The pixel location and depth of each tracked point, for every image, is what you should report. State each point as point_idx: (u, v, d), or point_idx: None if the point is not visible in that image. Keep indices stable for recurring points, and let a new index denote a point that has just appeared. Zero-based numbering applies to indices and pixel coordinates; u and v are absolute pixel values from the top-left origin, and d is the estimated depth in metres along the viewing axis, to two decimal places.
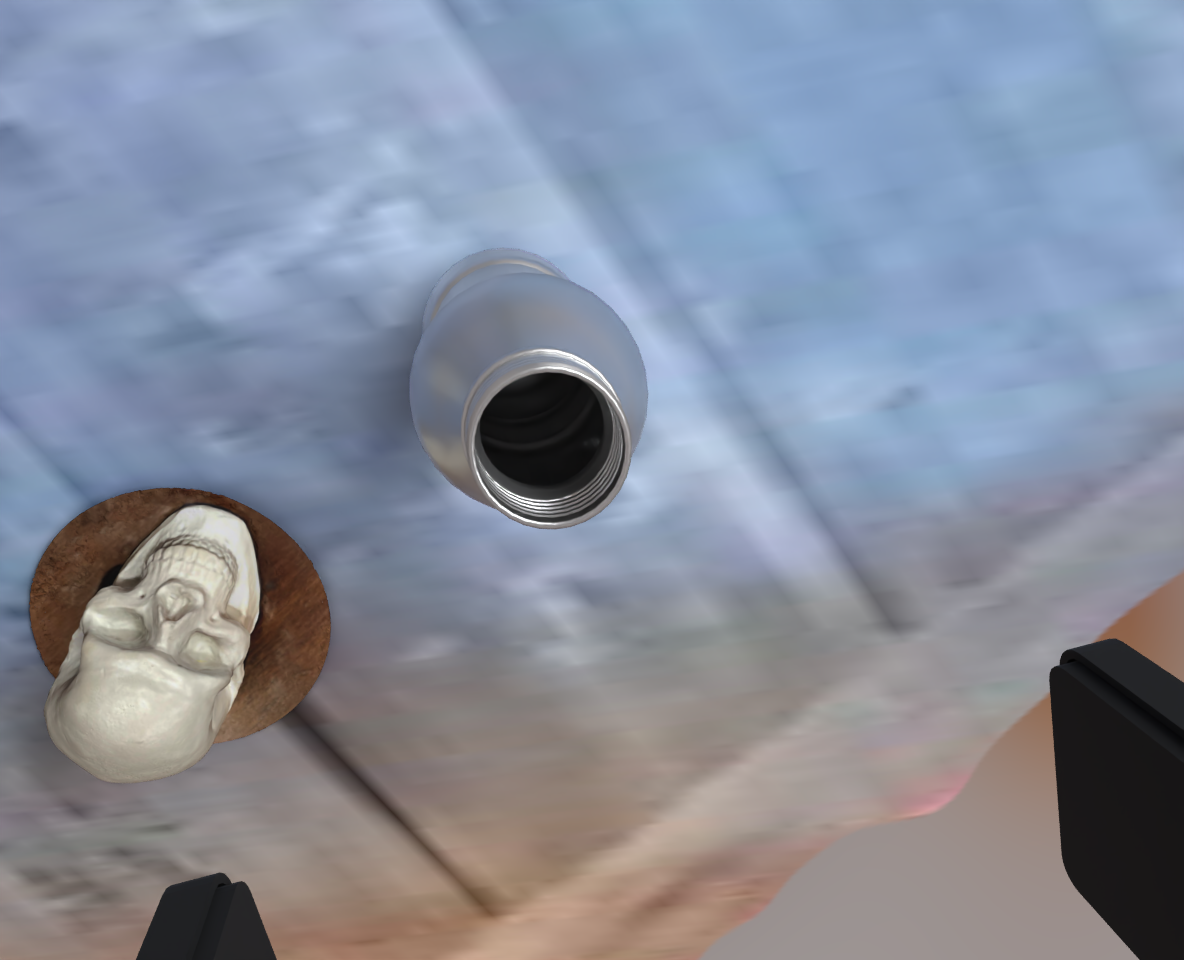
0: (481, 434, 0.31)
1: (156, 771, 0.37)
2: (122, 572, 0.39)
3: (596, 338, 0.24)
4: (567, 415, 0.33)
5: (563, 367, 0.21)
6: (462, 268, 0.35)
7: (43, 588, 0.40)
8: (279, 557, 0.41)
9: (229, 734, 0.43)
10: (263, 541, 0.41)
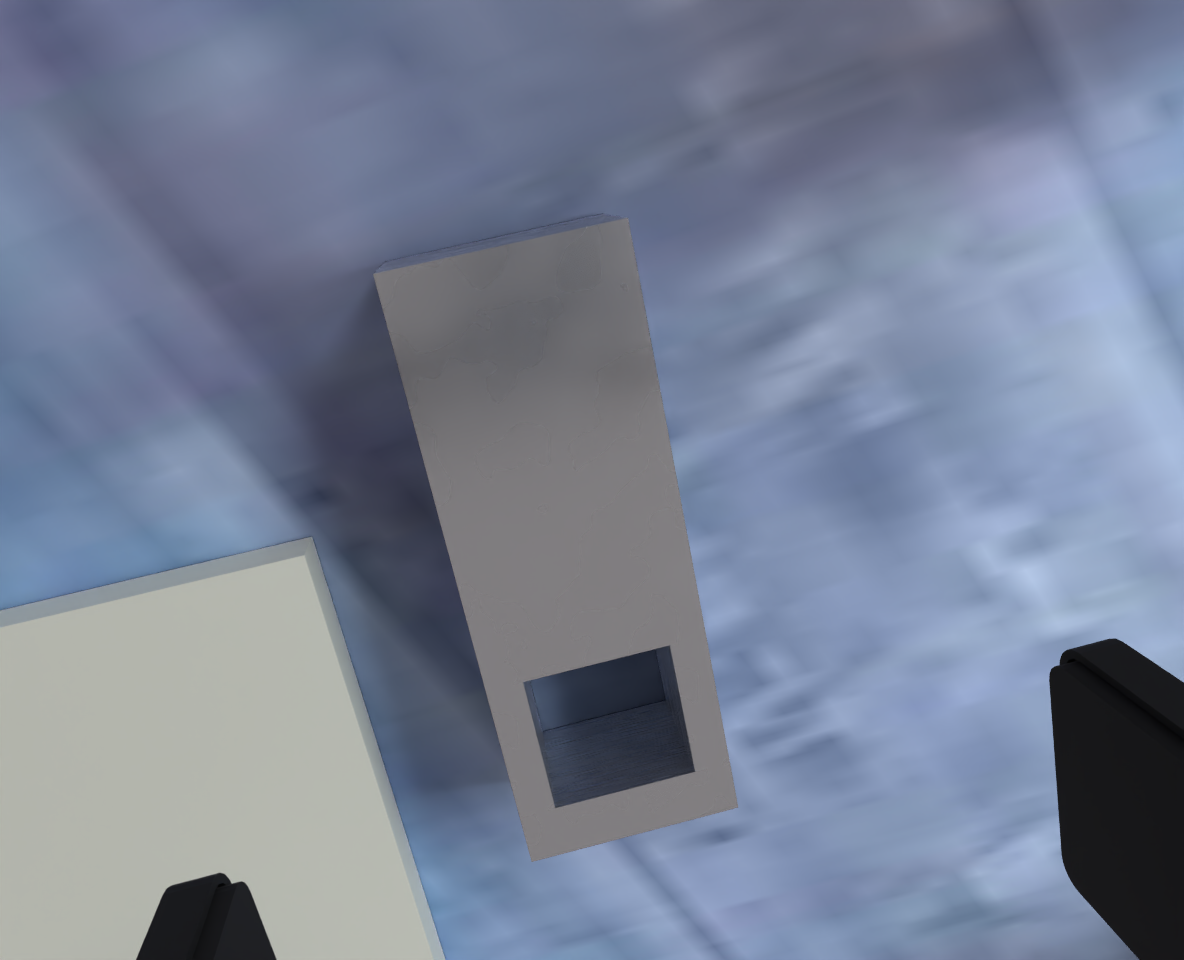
0: None
1: None
2: None
3: None
4: None
5: None
6: None
7: None
8: None
9: None
10: None
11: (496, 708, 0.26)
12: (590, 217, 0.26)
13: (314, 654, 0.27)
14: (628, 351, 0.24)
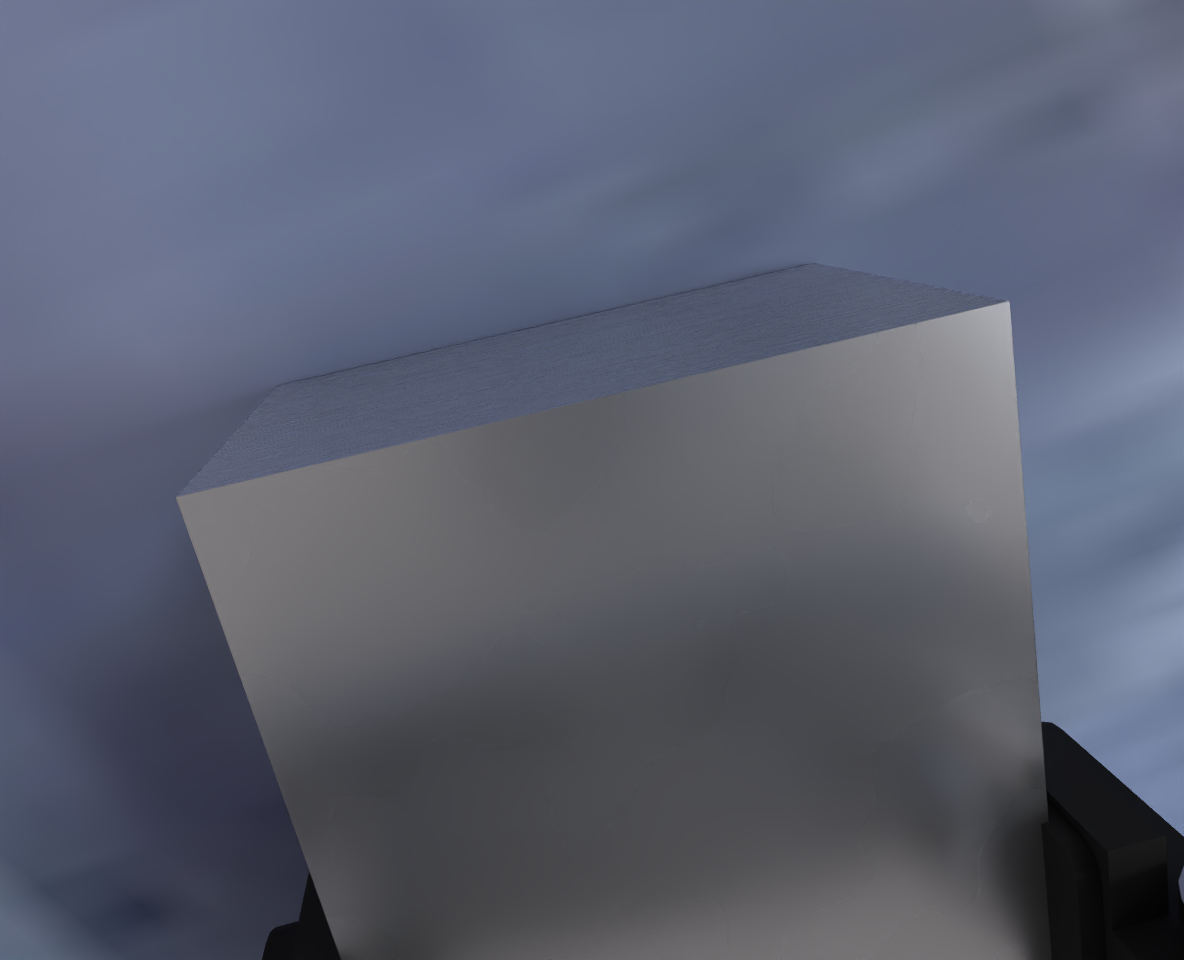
0: None
1: None
2: None
3: None
4: None
5: None
6: None
7: None
8: None
9: None
10: None
11: None
12: (793, 275, 0.10)
13: None
14: (968, 688, 0.08)
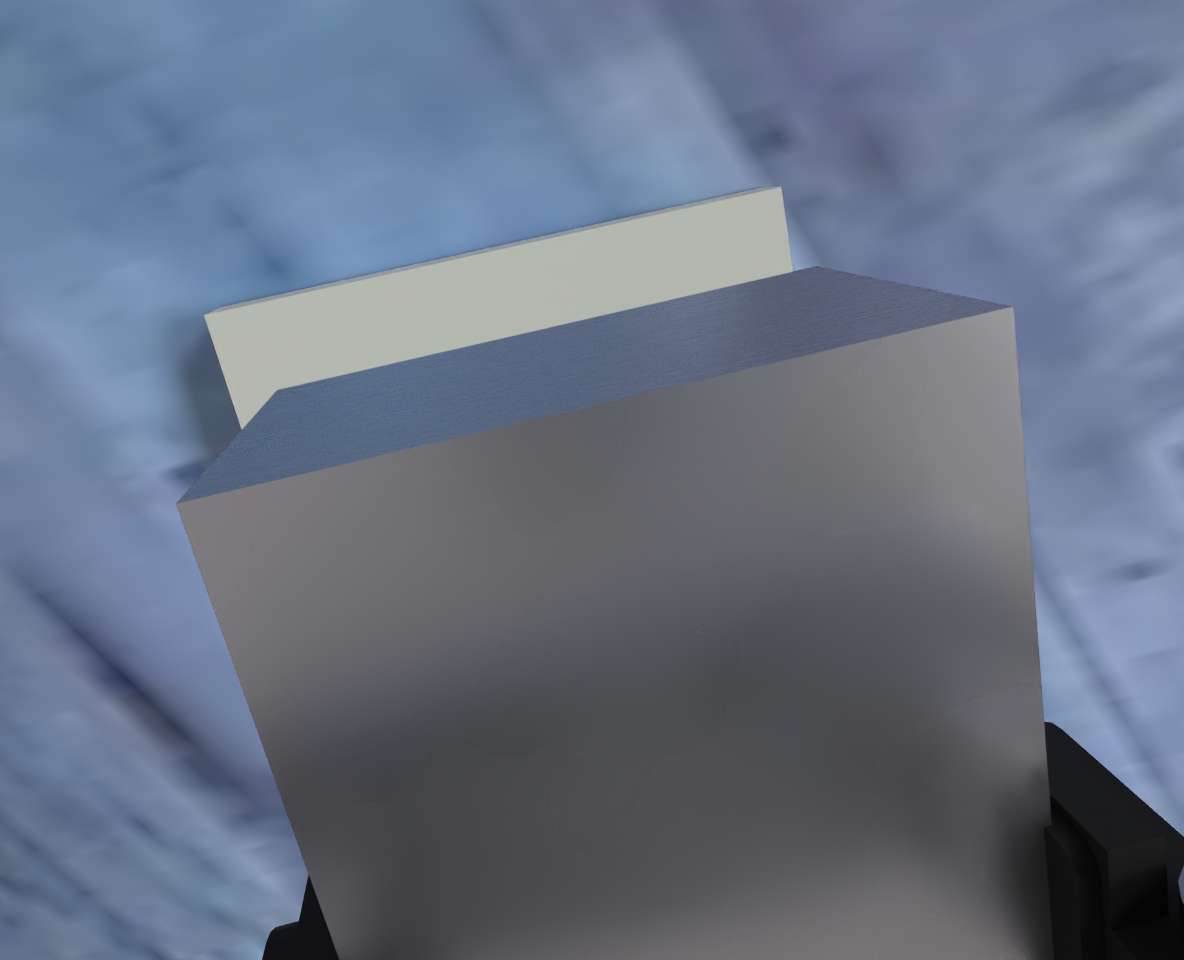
0: None
1: None
2: None
3: None
4: None
5: None
6: None
7: None
8: None
9: None
10: None
11: None
12: (795, 278, 0.10)
13: None
14: (971, 695, 0.08)
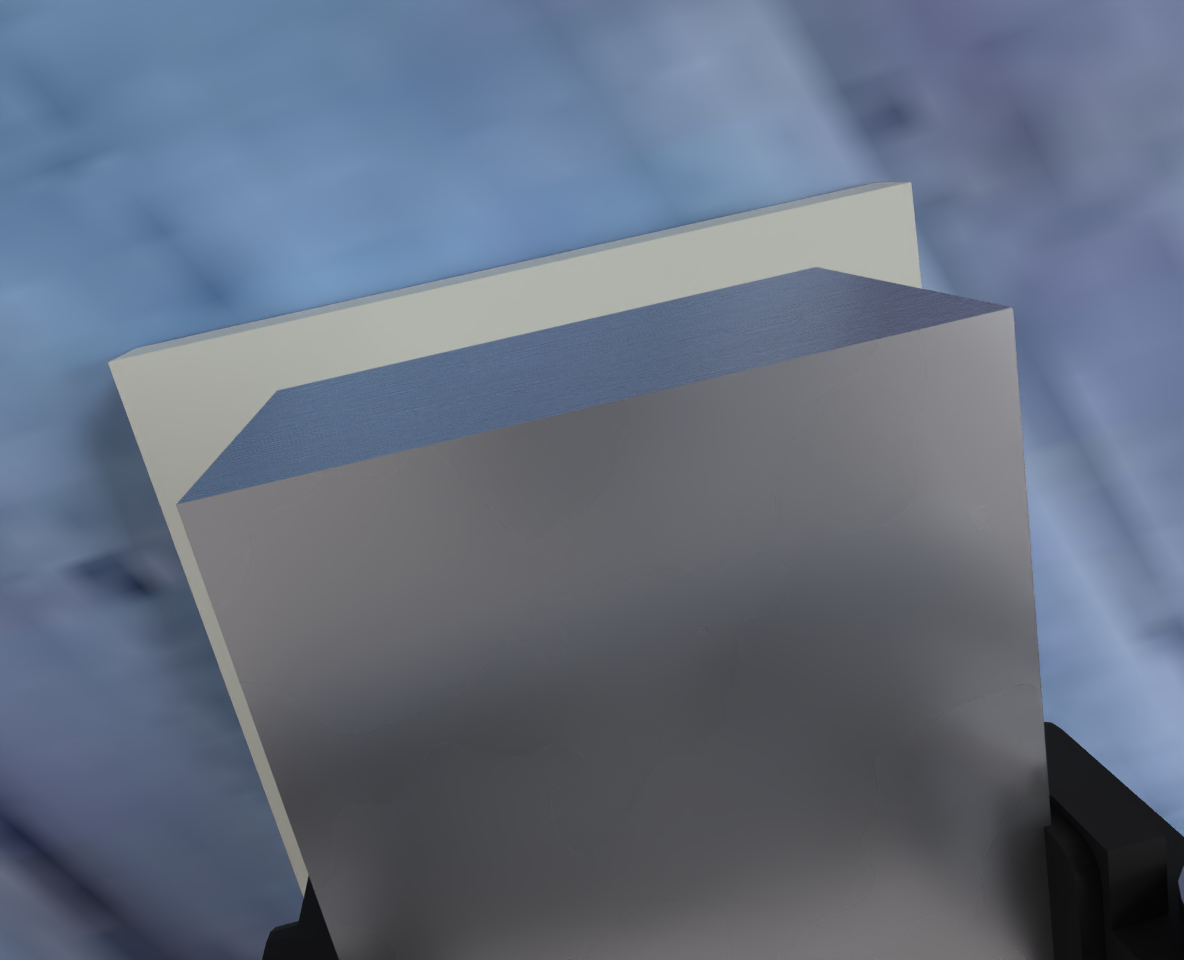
0: None
1: None
2: None
3: None
4: None
5: None
6: None
7: None
8: None
9: None
10: None
11: None
12: (795, 279, 0.10)
13: None
14: (972, 695, 0.08)
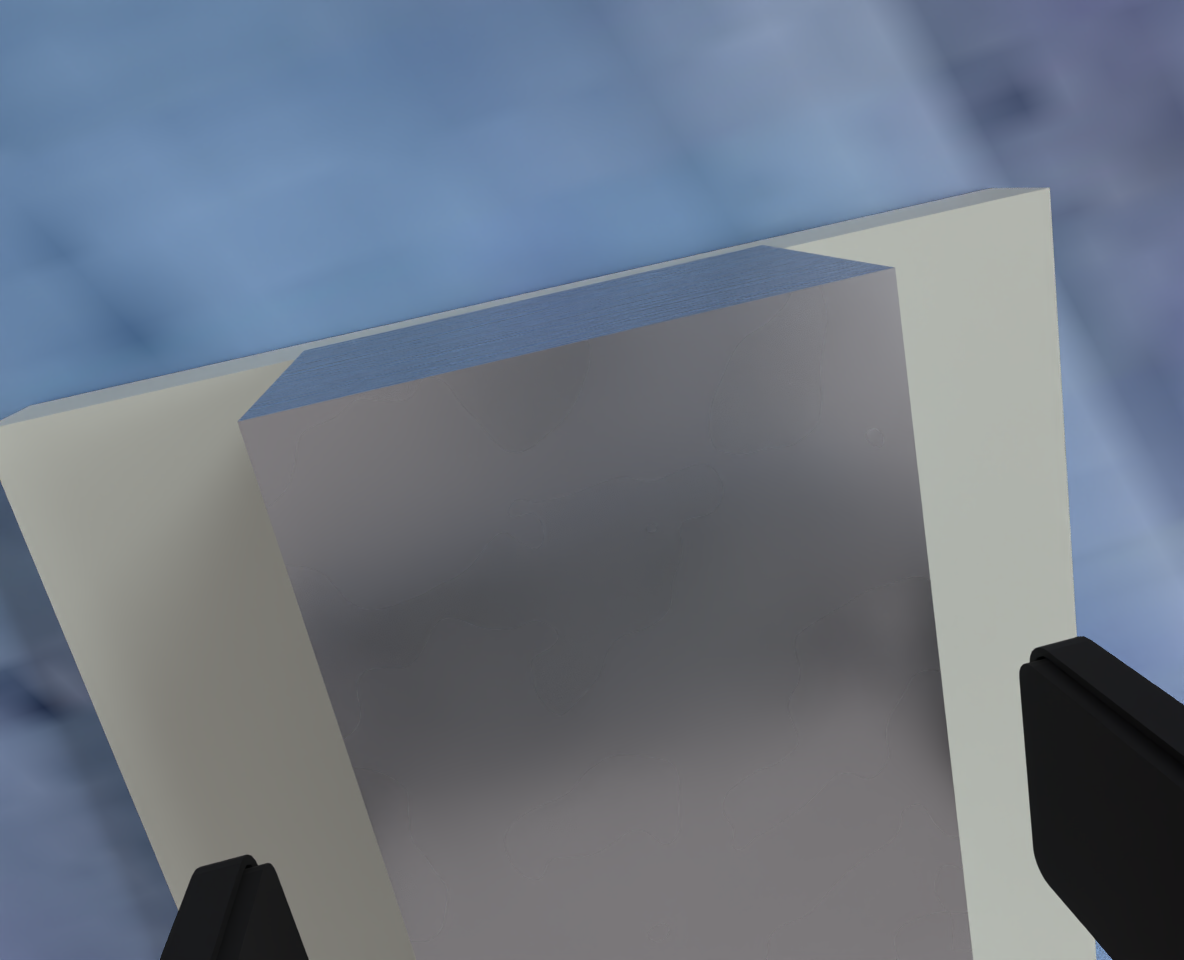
0: None
1: None
2: None
3: None
4: None
5: None
6: None
7: None
8: None
9: None
10: None
11: None
12: (742, 254, 0.12)
13: (1024, 407, 0.14)
14: (873, 585, 0.10)
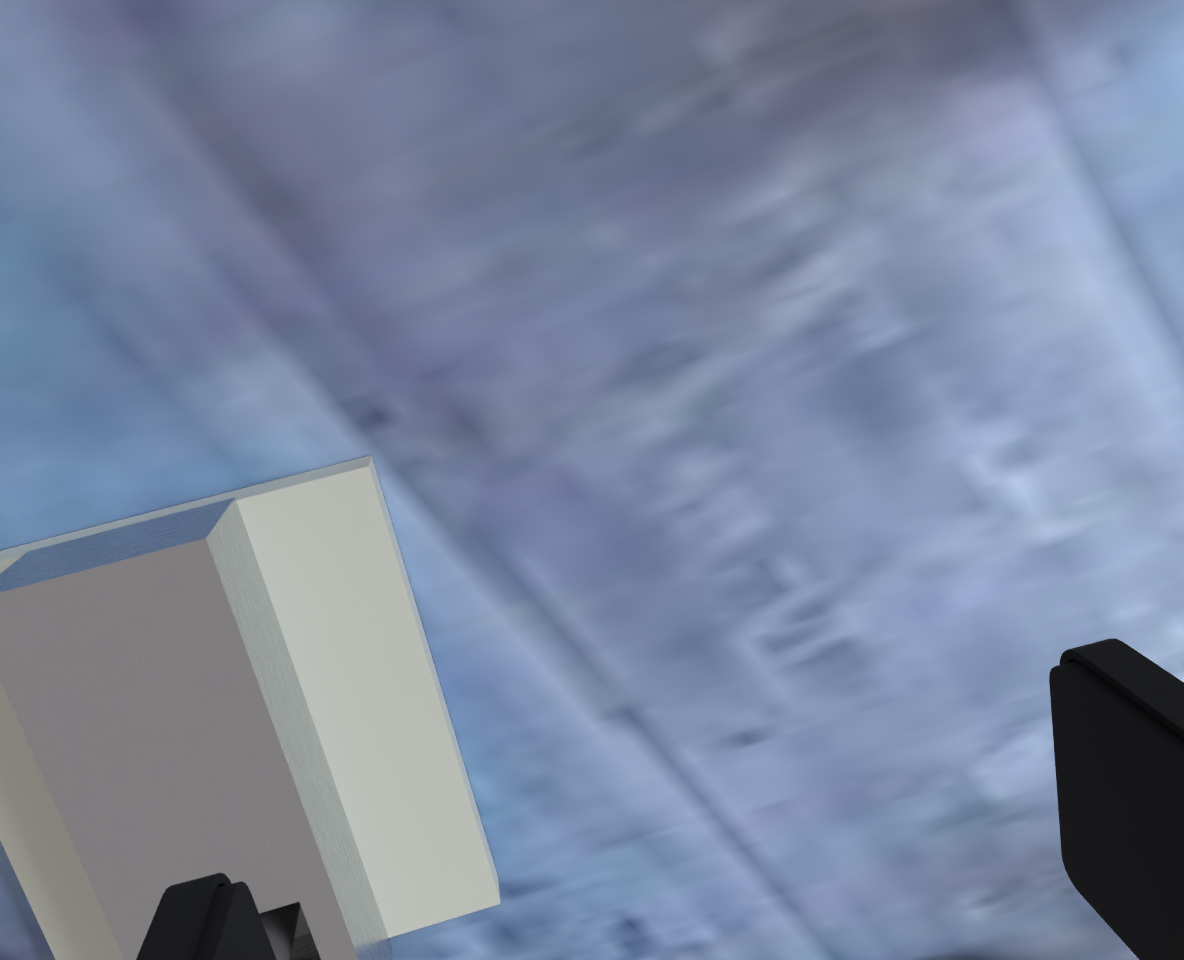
0: None
1: None
2: None
3: None
4: None
5: None
6: None
7: None
8: None
9: None
10: None
11: None
12: (217, 505, 0.28)
13: (377, 560, 0.30)
14: (222, 650, 0.26)
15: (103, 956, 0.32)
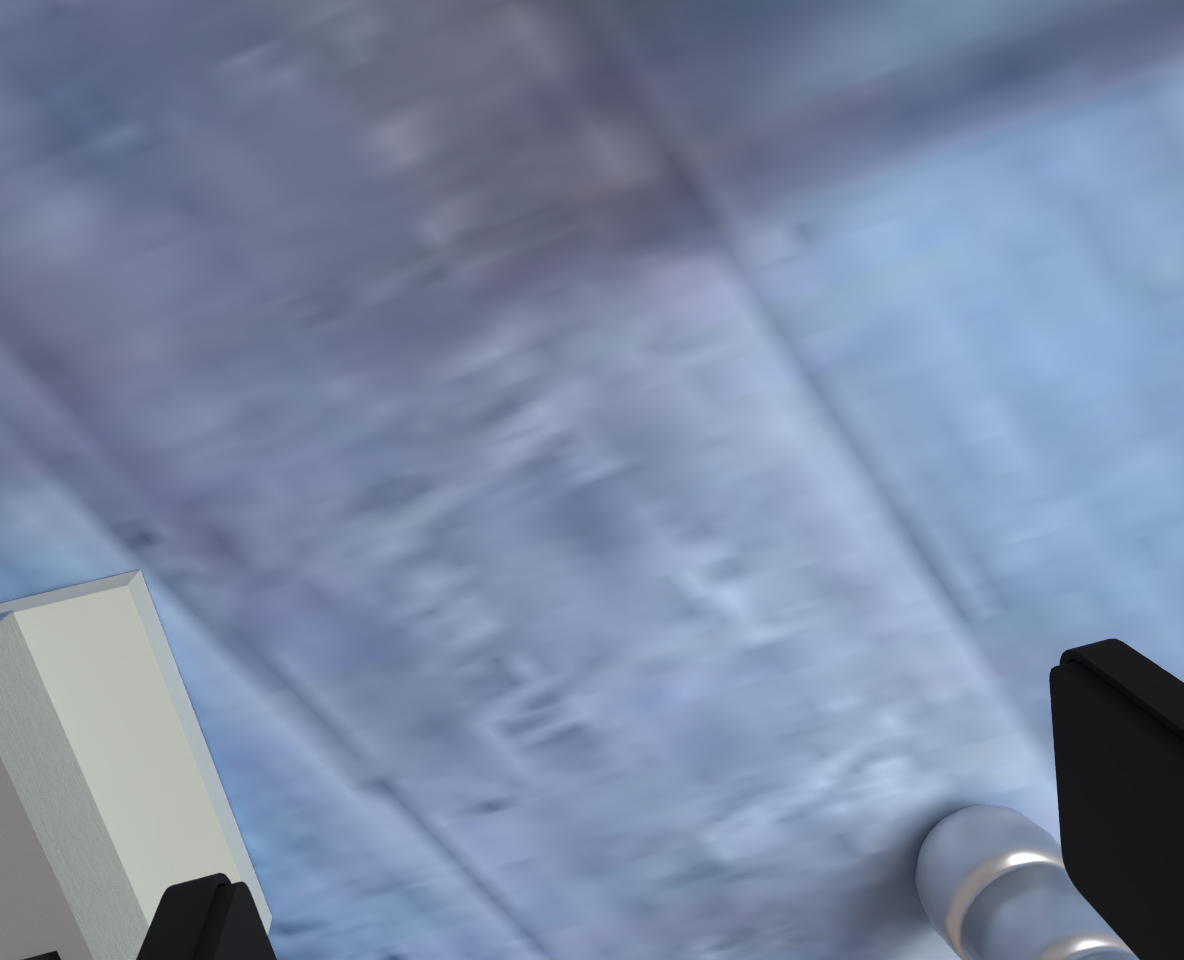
0: None
1: None
2: None
3: None
4: None
5: None
6: (984, 858, 0.40)
7: None
8: None
9: None
10: None
11: None
12: None
13: (139, 661, 0.35)
14: None
15: None
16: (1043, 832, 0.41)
